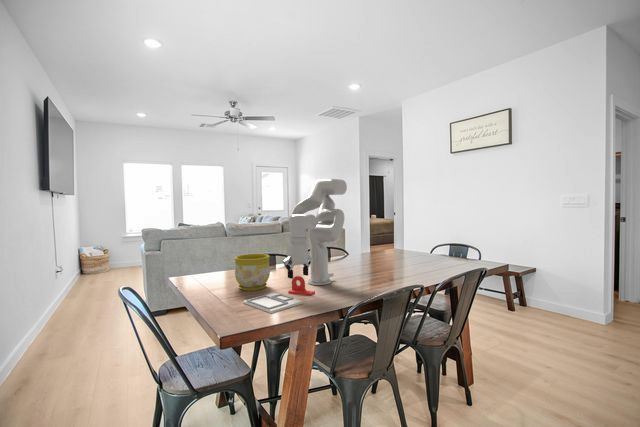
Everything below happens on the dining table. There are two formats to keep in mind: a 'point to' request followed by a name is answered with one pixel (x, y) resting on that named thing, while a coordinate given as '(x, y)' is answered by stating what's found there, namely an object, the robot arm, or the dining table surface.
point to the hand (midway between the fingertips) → (298, 276)
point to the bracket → (300, 287)
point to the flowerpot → (252, 271)
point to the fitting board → (272, 302)
